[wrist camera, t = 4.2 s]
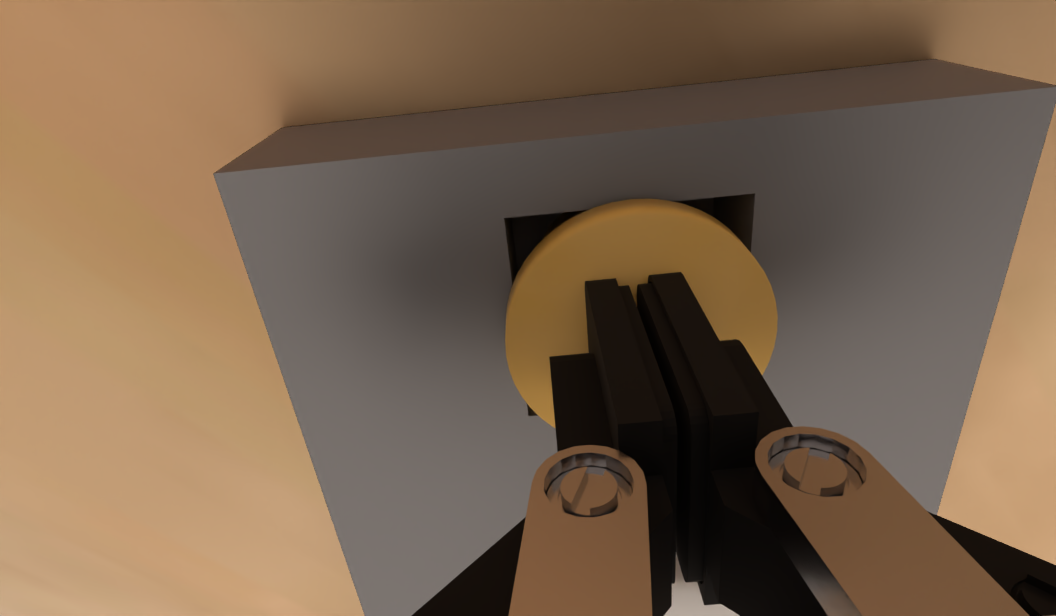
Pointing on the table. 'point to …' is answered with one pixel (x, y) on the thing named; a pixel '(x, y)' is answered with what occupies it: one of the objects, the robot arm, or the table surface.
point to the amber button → (630, 283)
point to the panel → (593, 180)
